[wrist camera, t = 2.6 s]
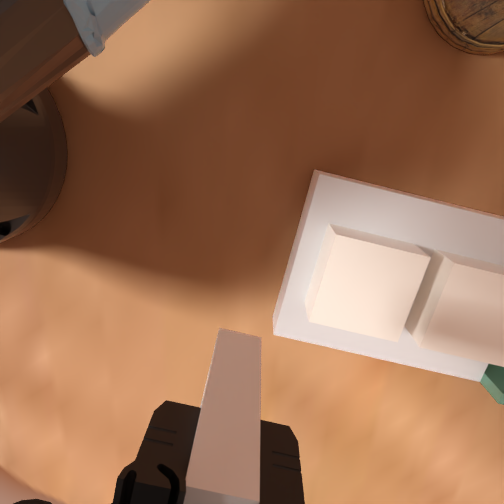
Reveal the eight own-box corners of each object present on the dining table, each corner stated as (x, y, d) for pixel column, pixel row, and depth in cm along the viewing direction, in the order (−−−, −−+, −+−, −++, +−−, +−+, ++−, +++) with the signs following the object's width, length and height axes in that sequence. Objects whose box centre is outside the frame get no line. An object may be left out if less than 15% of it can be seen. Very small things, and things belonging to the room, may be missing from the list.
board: (272, 316, 33) (273, 334, 30) (314, 169, 30) (319, 174, 27) (461, 360, 34) (479, 381, 31) (523, 221, 30) (550, 231, 28)
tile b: (404, 326, 30) (419, 347, 27) (434, 249, 28) (454, 262, 25) (483, 344, 30) (506, 367, 27) (517, 269, 28) (546, 285, 25)
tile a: (304, 302, 29) (308, 321, 27) (328, 223, 28) (336, 234, 25) (384, 321, 30) (397, 342, 27) (413, 243, 28) (430, 257, 25)
